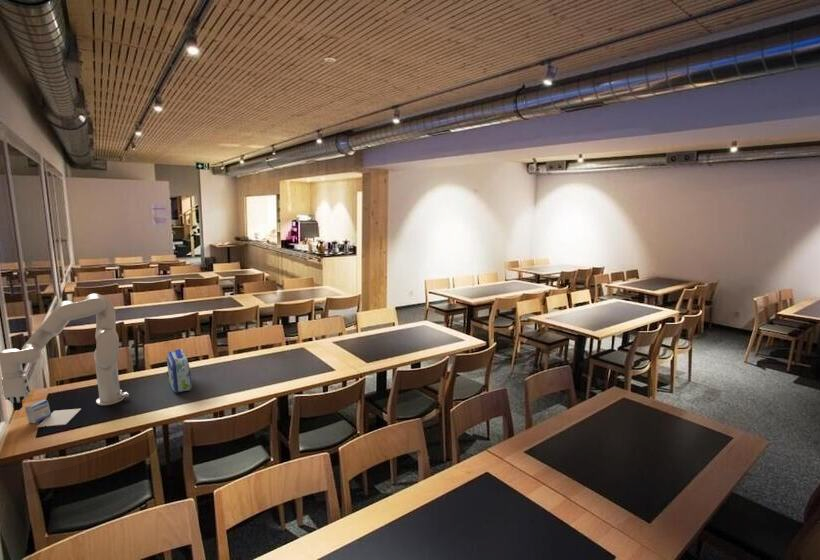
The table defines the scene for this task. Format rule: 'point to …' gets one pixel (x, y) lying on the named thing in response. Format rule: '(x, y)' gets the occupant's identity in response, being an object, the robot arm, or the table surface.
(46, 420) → the mat
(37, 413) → the medicine box
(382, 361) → the table surface
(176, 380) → the lunch box
